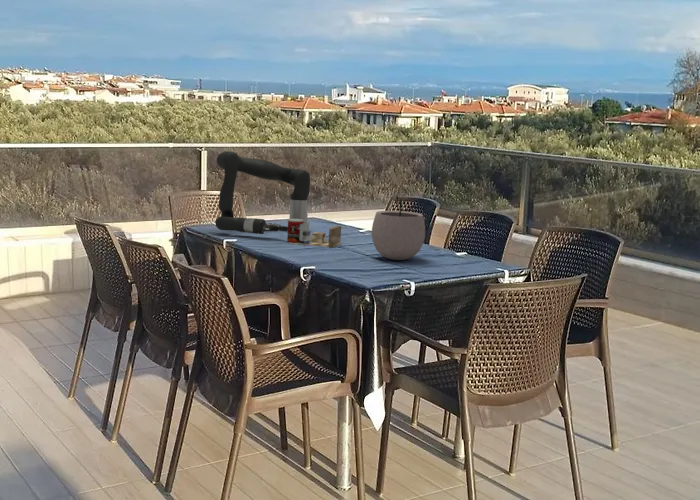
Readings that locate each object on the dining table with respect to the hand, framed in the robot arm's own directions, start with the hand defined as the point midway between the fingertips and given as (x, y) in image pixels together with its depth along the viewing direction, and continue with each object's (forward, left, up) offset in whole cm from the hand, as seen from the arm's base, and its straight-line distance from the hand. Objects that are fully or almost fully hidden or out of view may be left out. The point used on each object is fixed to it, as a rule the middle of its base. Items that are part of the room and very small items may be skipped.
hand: (287, 229), depth 402 cm
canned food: (-1, +4, -6) cm, 8 cm away
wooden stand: (-4, +15, -6) cm, 16 cm away
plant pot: (+4, +64, -6) cm, 64 cm away
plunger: (-4, +14, -5) cm, 15 cm away
